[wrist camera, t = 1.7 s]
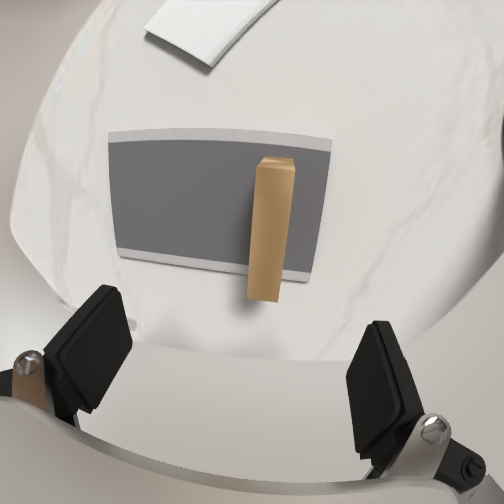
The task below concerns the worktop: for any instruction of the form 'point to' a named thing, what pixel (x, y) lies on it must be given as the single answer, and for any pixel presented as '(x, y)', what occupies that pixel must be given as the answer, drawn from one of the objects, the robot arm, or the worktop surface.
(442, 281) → the worktop surface
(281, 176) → the wooden block
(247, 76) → the worktop surface
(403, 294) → the worktop surface
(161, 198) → the mat
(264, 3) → the external hard drive
